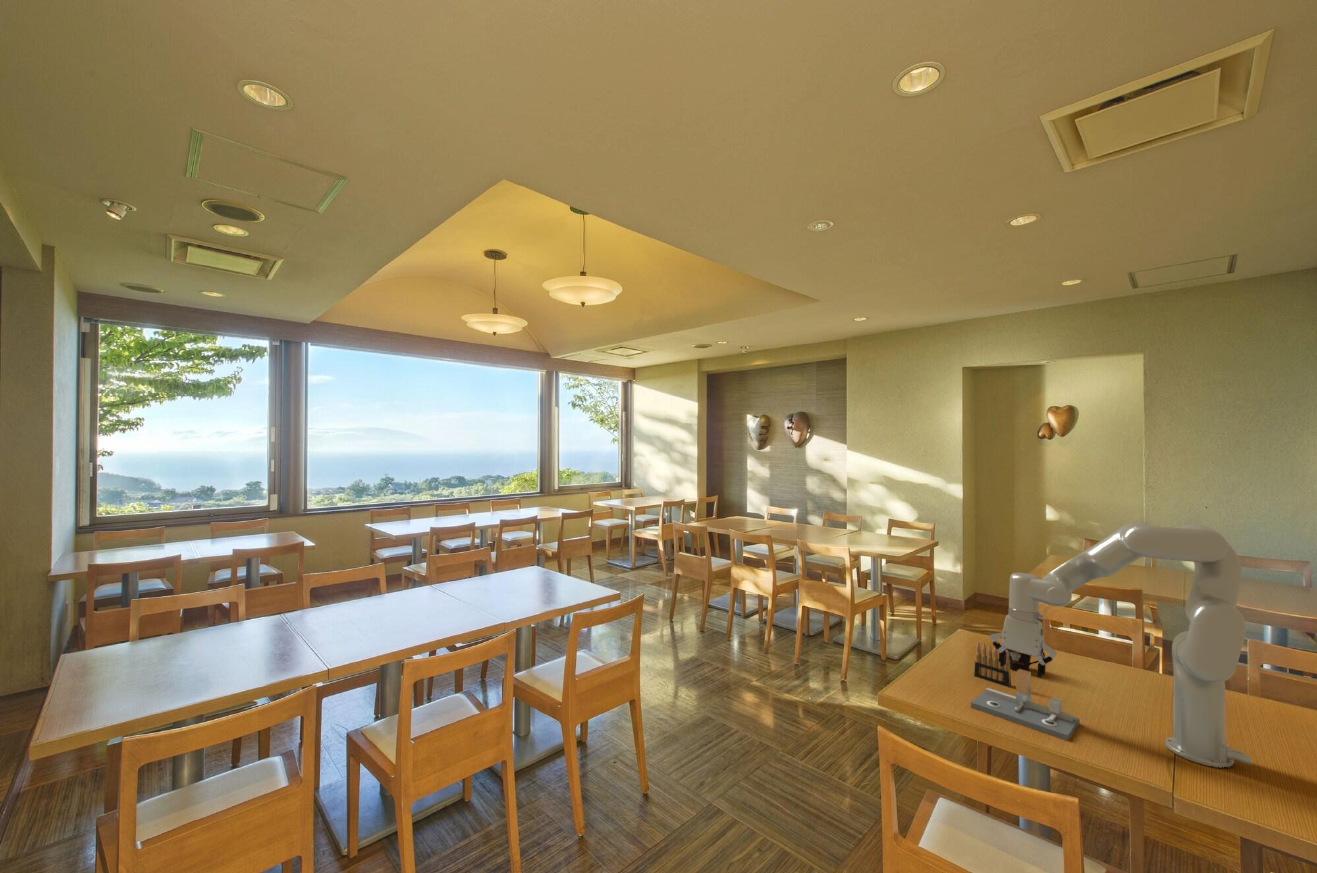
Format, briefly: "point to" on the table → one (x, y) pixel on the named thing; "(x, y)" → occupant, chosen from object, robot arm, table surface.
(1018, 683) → the sliding leg
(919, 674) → the table surface
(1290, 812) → the table surface
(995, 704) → the grey slotted base plate
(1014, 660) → the coffee mug
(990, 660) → the ammunition clip
